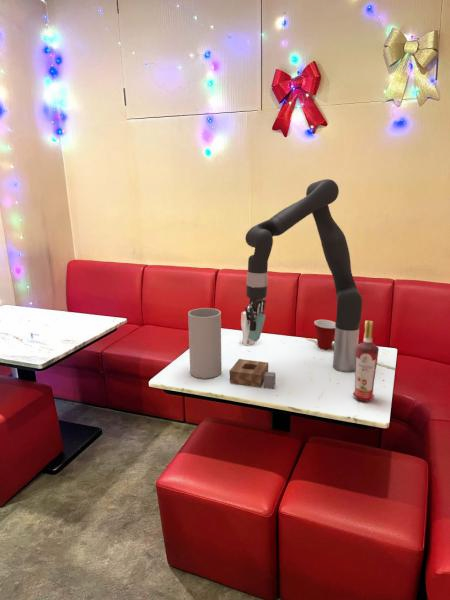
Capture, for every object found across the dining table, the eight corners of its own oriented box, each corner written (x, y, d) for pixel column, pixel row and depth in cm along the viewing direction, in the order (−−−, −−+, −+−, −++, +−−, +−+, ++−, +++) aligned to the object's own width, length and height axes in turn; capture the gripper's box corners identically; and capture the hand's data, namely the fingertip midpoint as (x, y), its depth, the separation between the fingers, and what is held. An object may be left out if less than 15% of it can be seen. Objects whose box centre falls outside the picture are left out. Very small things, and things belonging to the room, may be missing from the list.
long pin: (251, 335, 162) (257, 311, 159) (259, 339, 161) (265, 315, 157) (247, 338, 159) (254, 314, 156) (255, 341, 158) (262, 317, 155)
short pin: (275, 385, 159) (275, 372, 158) (273, 389, 156) (273, 376, 155) (266, 383, 160) (266, 371, 159) (264, 387, 157) (264, 375, 156)
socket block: (268, 374, 168) (268, 362, 167) (260, 387, 157) (260, 375, 156) (239, 370, 172) (239, 358, 171) (229, 383, 161) (229, 370, 160)
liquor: (351, 401, 147) (356, 323, 139) (353, 392, 153) (358, 317, 146) (373, 404, 144) (380, 326, 137) (374, 395, 151) (381, 319, 144)
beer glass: (254, 346, 198) (254, 315, 194) (239, 345, 199) (239, 314, 196) (256, 341, 205) (256, 311, 201) (242, 340, 206) (242, 310, 202)
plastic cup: (336, 353, 189) (337, 327, 186) (311, 350, 192) (312, 325, 189) (337, 344, 199) (339, 320, 196) (314, 342, 202) (315, 318, 199)
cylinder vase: (211, 382, 162) (209, 319, 156) (184, 375, 168) (181, 314, 162) (227, 369, 173) (226, 310, 166) (201, 364, 179) (199, 306, 172)
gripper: (255, 279, 162) (253, 322, 167) (238, 286, 150) (237, 332, 155) (273, 281, 159) (271, 325, 163) (258, 289, 147) (256, 336, 151)
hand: (254, 328), depth 159 cm, fingers closed on long pin, 3 cm apart
